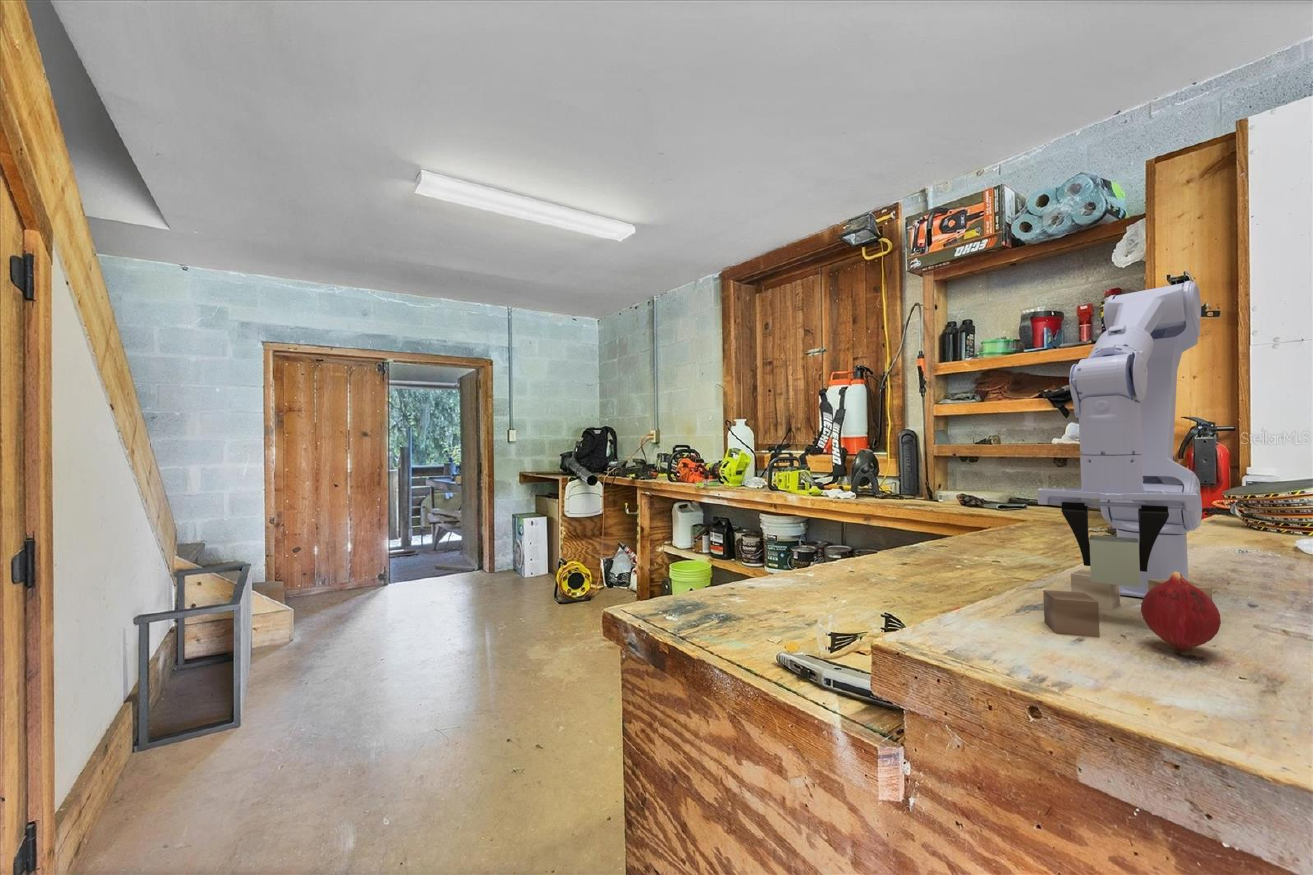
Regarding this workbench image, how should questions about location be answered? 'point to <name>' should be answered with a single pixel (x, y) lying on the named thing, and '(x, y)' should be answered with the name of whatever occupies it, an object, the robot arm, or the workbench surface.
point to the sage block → (1115, 560)
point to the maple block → (1095, 589)
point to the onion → (1180, 613)
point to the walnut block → (1071, 613)
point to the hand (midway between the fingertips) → (1114, 567)
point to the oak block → (1203, 588)
